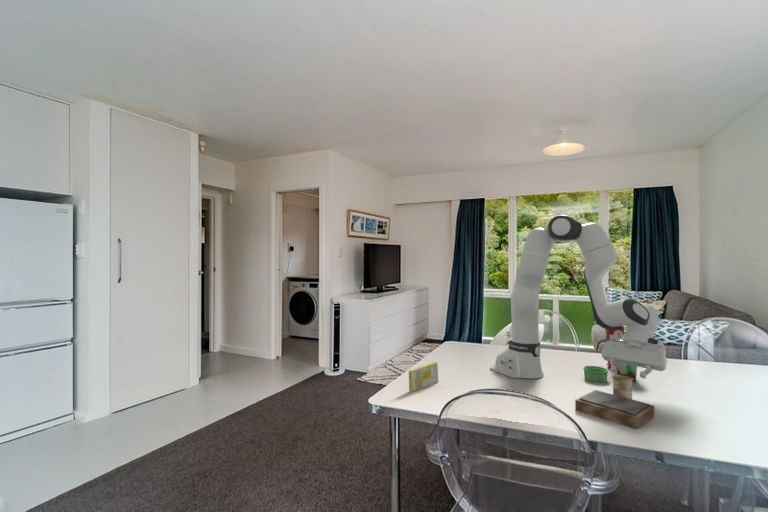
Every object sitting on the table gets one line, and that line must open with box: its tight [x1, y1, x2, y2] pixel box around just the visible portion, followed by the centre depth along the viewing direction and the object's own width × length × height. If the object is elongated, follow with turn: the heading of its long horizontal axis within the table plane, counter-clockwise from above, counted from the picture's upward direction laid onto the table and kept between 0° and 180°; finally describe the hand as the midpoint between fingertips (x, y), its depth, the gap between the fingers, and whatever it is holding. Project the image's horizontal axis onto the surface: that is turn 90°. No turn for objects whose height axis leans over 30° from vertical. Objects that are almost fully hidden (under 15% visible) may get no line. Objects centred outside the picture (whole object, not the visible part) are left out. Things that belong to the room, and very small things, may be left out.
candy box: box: [408, 361, 439, 393], centre depth 150 cm, size 16×2×8 cm, turn 134°
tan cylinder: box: [612, 374, 633, 400], centre depth 134 cm, size 4×4×8 cm
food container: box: [616, 363, 638, 383], centre depth 155 cm, size 12×6×10 cm, turn 168°
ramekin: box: [582, 365, 609, 383], centre depth 156 cm, size 9×9×4 cm
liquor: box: [605, 325, 626, 369], centre depth 170 cm, size 7×7×28 cm
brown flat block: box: [574, 389, 655, 430], centre depth 122 cm, size 18×14×4 cm
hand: (627, 374), depth 136 cm, fingers open, 8 cm apart
